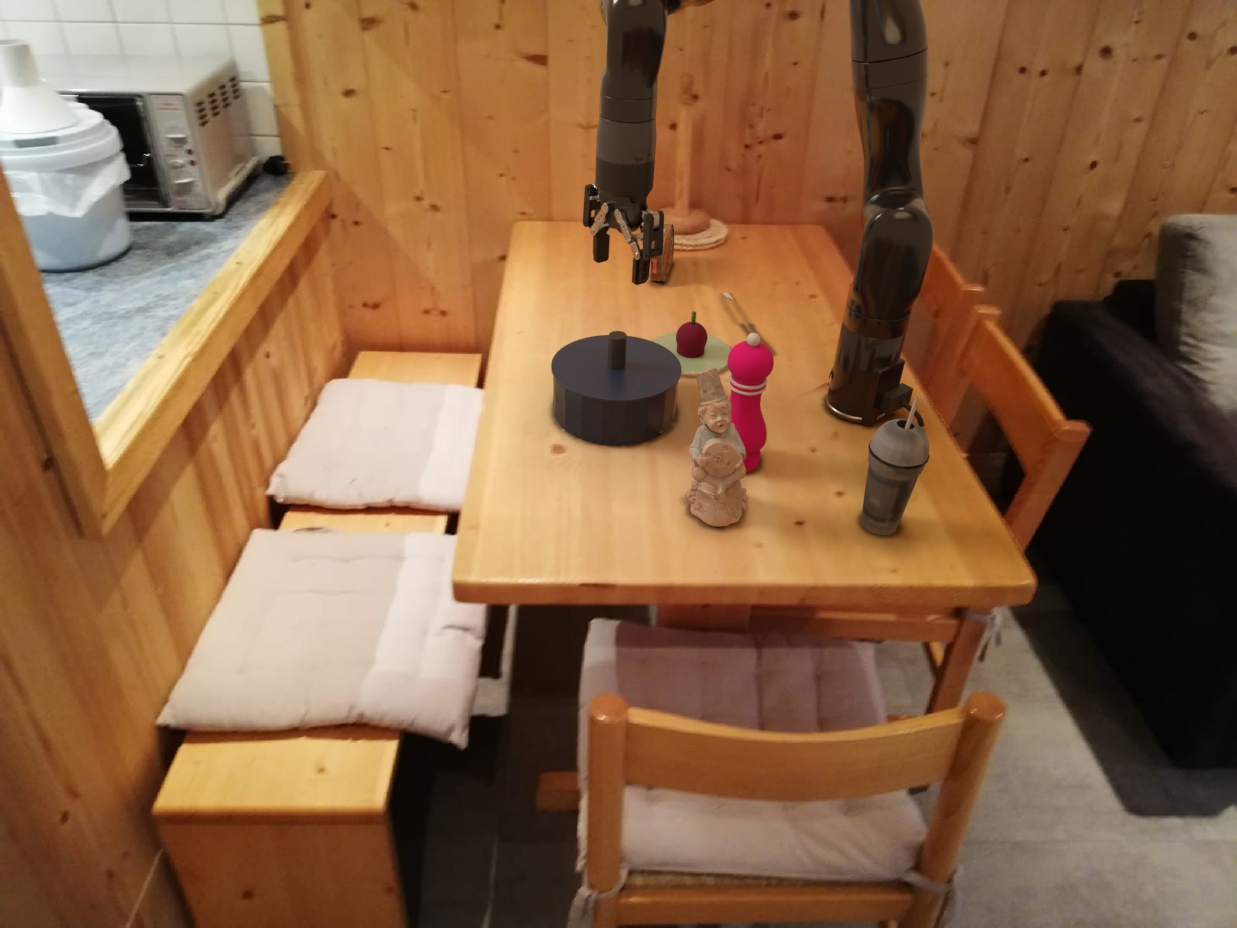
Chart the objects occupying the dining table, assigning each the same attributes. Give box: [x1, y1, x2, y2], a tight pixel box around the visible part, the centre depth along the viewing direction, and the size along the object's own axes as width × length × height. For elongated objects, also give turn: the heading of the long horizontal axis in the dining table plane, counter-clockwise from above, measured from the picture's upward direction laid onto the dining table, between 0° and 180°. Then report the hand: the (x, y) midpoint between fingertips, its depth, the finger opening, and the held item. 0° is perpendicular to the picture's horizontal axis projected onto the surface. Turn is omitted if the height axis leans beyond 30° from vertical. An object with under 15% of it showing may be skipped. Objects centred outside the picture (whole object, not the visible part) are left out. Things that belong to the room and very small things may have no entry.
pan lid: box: [550, 330, 683, 403], centre depth 131 cm, size 19×19×6 cm
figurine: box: [684, 367, 749, 527], centre depth 113 cm, size 9×8×20 cm
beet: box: [676, 310, 708, 358], centre depth 149 cm, size 5×5×7 cm
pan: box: [552, 375, 680, 447], centre depth 135 cm, size 18×18×8 cm
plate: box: [652, 331, 732, 374], centre depth 151 cm, size 14×14×1 cm
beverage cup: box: [861, 395, 930, 536], centre depth 112 cm, size 7×7×20 cm
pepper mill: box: [726, 332, 775, 473], centre depth 122 cm, size 7×7×20 cm
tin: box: [649, 223, 675, 283], centre depth 176 cm, size 15×3×8 cm, turn 168°
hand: (619, 271), depth 124 cm, fingers open, 8 cm apart
